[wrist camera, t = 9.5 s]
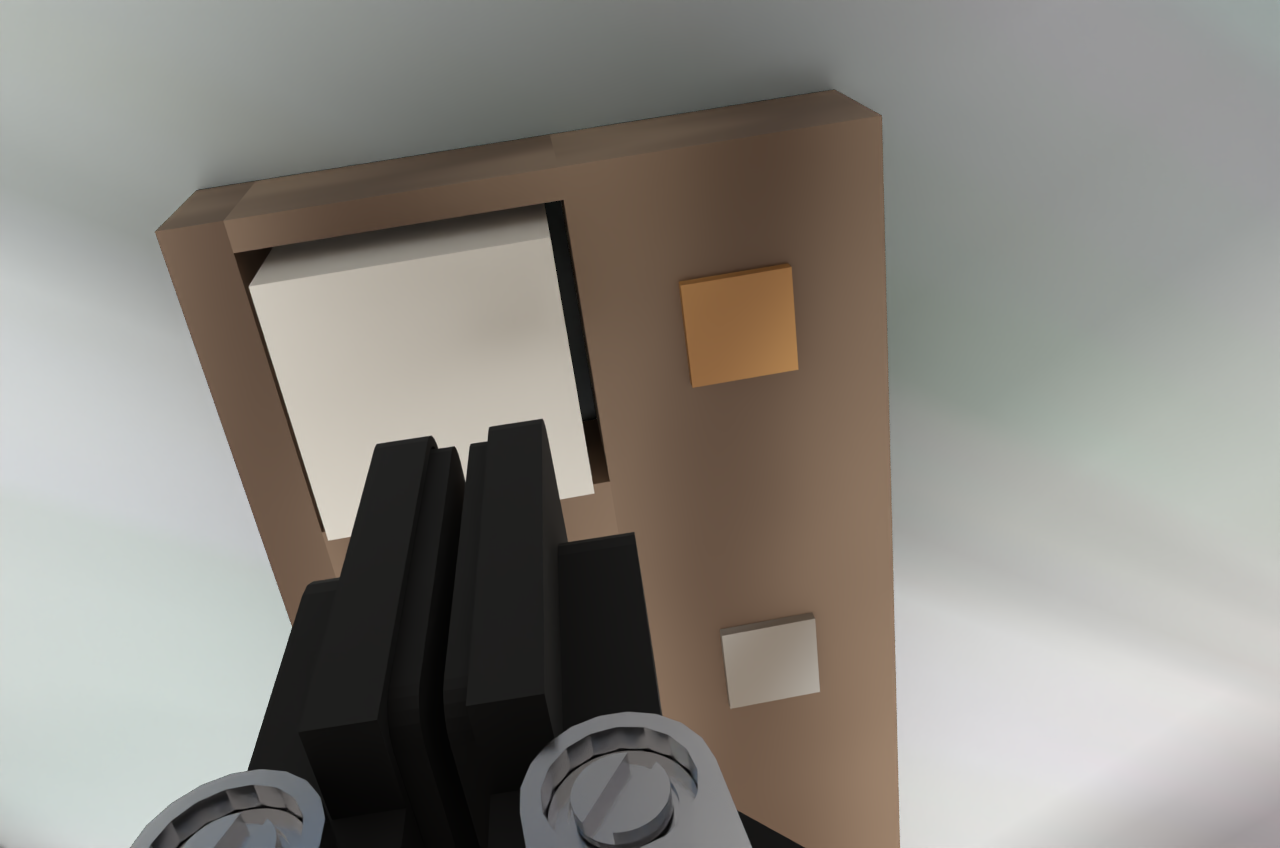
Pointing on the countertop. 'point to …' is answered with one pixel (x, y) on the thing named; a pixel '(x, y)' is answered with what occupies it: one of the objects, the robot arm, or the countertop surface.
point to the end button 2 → (419, 346)
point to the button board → (660, 411)
